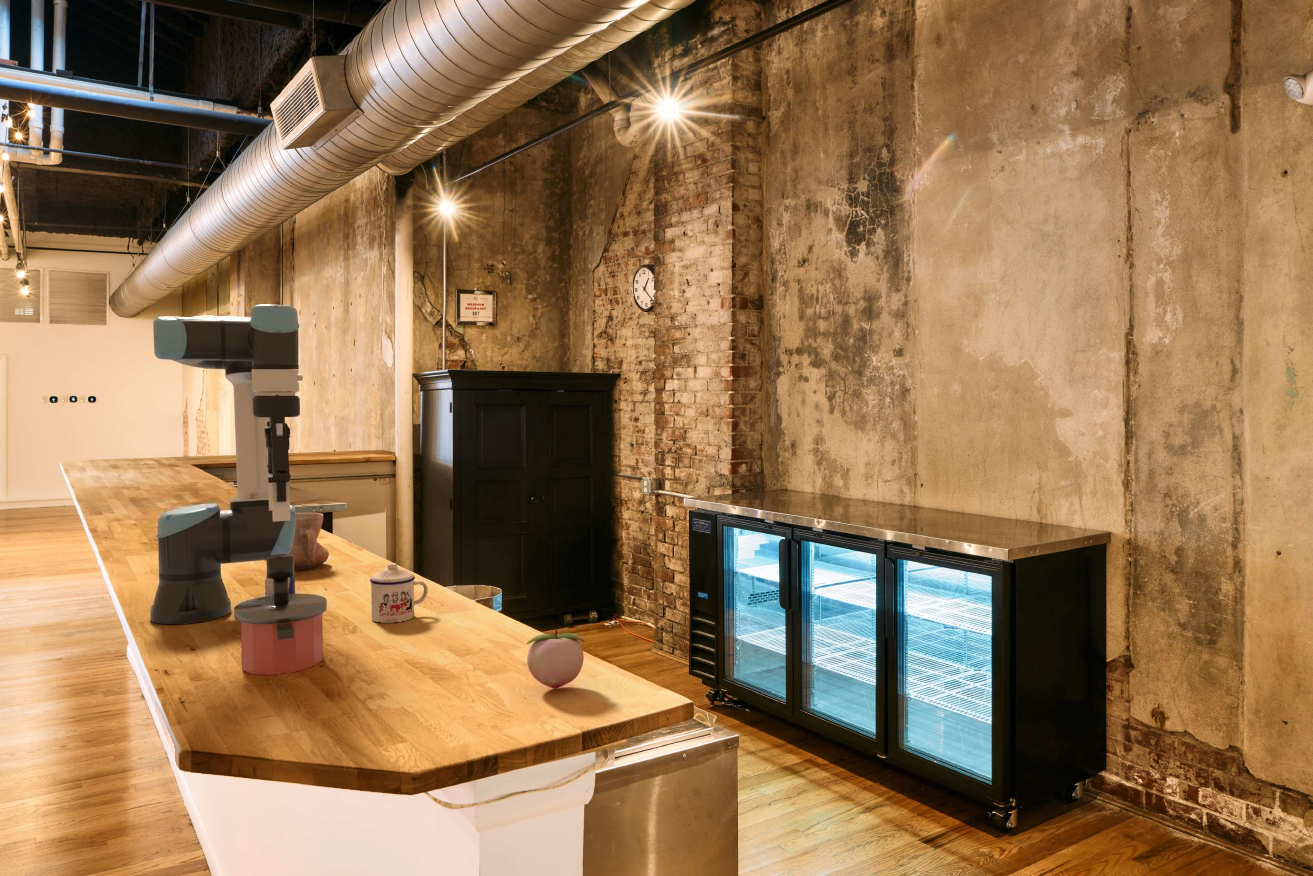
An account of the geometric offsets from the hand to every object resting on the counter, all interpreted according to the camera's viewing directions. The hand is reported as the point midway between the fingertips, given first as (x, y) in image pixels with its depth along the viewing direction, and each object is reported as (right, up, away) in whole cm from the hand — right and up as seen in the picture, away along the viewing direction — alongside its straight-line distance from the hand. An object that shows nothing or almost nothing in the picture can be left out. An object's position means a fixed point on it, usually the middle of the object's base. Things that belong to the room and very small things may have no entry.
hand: (279, 515), depth 150 cm
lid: (0, -17, +1) cm, 17 cm away
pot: (0, -26, +1) cm, 26 cm away
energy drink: (-7, -26, +17) cm, 32 cm away
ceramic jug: (-30, -22, +81) cm, 89 cm away
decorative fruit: (+50, -27, -12) cm, 59 cm away
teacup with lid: (+12, -25, +31) cm, 42 cm away
